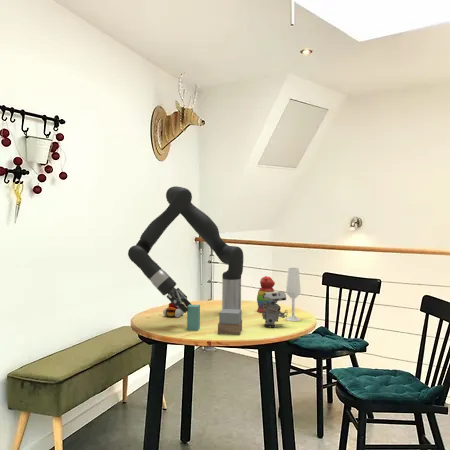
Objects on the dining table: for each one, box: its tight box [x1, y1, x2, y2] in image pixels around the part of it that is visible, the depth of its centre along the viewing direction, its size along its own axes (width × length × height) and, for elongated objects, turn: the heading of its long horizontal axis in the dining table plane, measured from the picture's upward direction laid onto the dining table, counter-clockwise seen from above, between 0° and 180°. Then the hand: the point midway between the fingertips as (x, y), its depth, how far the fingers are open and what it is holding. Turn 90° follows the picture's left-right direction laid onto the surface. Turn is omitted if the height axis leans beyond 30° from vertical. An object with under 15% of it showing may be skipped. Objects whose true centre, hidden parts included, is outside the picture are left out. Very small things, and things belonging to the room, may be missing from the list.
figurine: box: [261, 290, 288, 329], centre depth 210 cm, size 9×12×15 cm
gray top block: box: [218, 308, 243, 325], centre depth 198 cm, size 8×8×4 cm
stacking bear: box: [256, 275, 276, 314], centre depth 240 cm, size 11×10×18 cm
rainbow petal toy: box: [162, 301, 185, 318], centre depth 228 cm, size 8×10×7 cm
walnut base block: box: [217, 319, 243, 336], centre depth 198 cm, size 9×9×4 cm
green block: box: [186, 304, 201, 331], centre depth 202 cm, size 5×5×10 cm
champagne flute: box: [285, 267, 301, 322], centre depth 222 cm, size 7×7×24 cm
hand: (189, 309), depth 203 cm, fingers open, 8 cm apart
